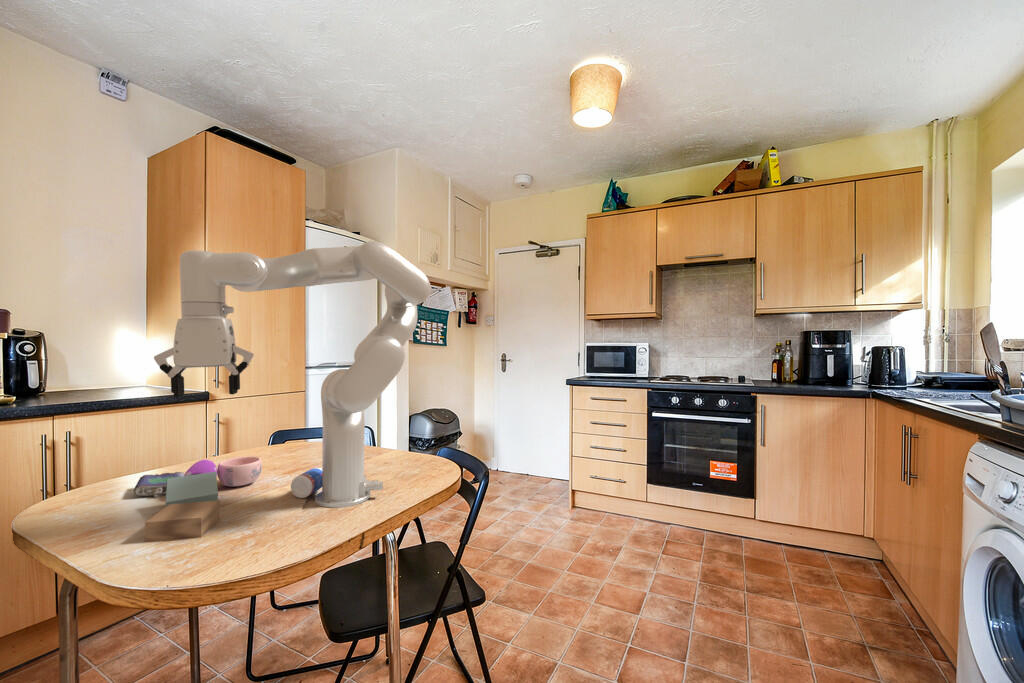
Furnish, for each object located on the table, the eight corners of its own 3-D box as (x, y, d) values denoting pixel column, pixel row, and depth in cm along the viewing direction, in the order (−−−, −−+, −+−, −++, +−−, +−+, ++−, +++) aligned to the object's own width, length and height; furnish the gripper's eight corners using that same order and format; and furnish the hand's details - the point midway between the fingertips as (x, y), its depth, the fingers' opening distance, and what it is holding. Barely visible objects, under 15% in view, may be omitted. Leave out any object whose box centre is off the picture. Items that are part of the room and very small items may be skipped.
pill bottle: (313, 479, 102) (334, 466, 112) (292, 473, 103) (315, 461, 112) (308, 501, 102) (329, 487, 112) (287, 495, 103) (310, 481, 112)
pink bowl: (251, 489, 109) (251, 465, 109) (208, 490, 107) (208, 467, 107) (271, 474, 121) (271, 453, 121) (232, 475, 119) (233, 454, 119)
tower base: (219, 519, 90) (219, 500, 90) (201, 538, 82) (201, 517, 82) (168, 524, 88) (169, 504, 88) (144, 544, 79) (144, 522, 79)
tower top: (215, 486, 103) (216, 471, 102) (217, 509, 96) (217, 493, 95) (167, 494, 97) (167, 478, 96) (165, 518, 91) (165, 502, 90)
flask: (185, 470, 113) (182, 484, 104) (184, 481, 113) (181, 496, 104) (139, 474, 107) (131, 489, 99) (138, 486, 108) (130, 502, 99)
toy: (201, 486, 97) (218, 449, 110) (166, 494, 95) (187, 455, 108) (210, 509, 99) (225, 470, 112) (176, 518, 97) (195, 477, 110)
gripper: (256, 313, 95) (258, 390, 95) (162, 313, 90) (165, 395, 90) (246, 311, 88) (249, 394, 88) (144, 311, 82) (147, 400, 83)
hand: (206, 394), depth 89 cm, fingers open, 9 cm apart
